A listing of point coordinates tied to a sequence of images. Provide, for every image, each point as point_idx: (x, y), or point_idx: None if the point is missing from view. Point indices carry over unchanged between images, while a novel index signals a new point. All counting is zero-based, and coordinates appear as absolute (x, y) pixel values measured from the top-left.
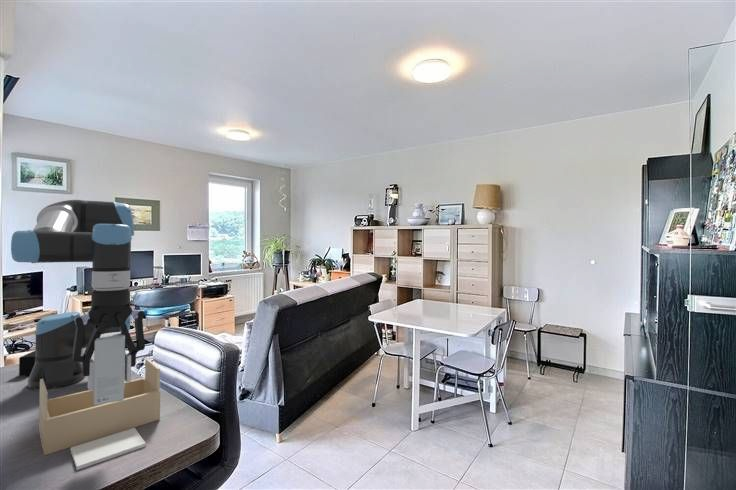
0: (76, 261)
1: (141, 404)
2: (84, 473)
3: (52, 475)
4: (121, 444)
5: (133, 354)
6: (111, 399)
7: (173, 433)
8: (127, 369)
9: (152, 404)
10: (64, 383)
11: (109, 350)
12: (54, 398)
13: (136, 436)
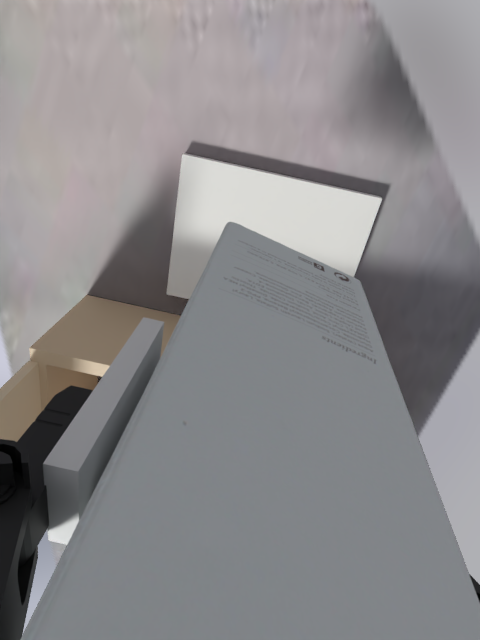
0: None
1: (115, 343)
2: (377, 154)
3: (427, 230)
4: (238, 219)
5: (17, 447)
6: (285, 249)
7: (84, 157)
8: (132, 375)
9: (83, 329)
10: None
11: (314, 592)
12: None
13: (184, 230)
